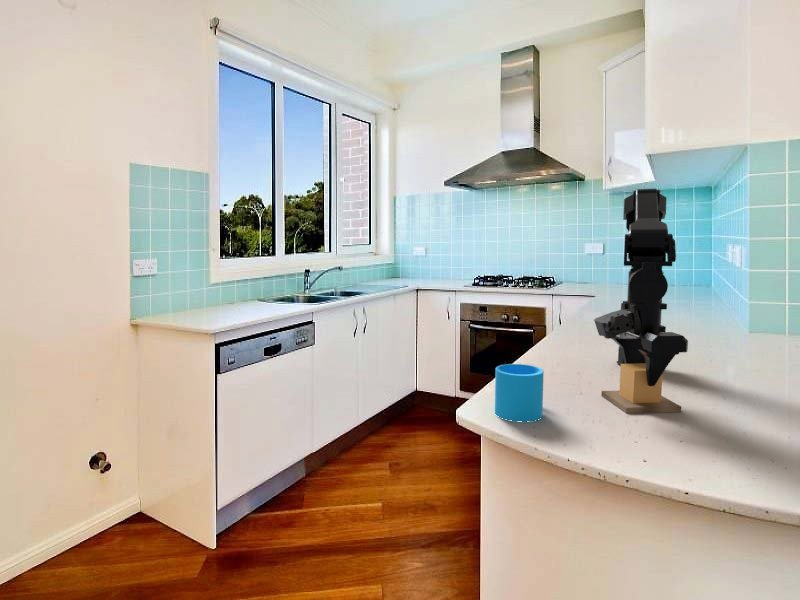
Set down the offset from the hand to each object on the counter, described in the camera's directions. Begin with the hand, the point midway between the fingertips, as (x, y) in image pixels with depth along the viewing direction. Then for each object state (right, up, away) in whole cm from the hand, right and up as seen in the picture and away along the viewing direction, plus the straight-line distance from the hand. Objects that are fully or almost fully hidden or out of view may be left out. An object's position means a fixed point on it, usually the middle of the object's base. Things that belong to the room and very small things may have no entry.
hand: (640, 380), depth 94 cm
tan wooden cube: (0, -4, 0) cm, 4 cm away
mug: (-23, -5, -3) cm, 24 cm away
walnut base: (0, -4, 0) cm, 4 cm away
